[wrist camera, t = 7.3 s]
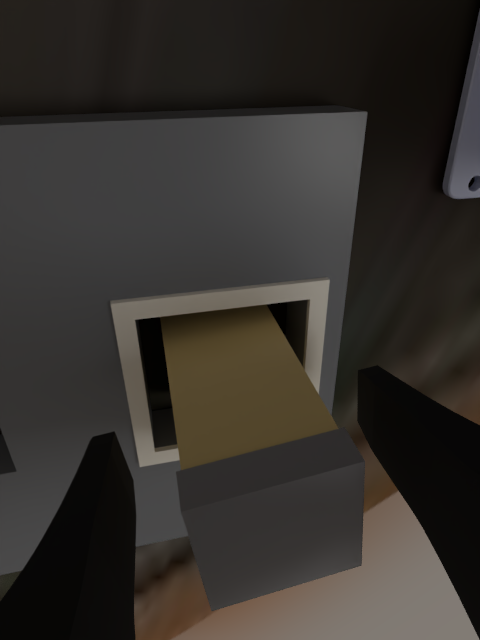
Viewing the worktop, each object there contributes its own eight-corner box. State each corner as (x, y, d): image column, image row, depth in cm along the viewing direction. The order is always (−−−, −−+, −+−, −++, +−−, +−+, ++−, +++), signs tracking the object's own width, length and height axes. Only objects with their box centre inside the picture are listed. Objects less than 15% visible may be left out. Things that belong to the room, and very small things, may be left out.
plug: (261, 287, 16) (364, 461, 9) (270, 371, 18) (361, 565, 11) (155, 310, 16) (180, 511, 9) (177, 393, 18) (211, 611, 11)
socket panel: (336, 105, 13) (371, 112, 12) (304, 473, 22) (321, 511, 20) (-404, 130, 10) (-522, 146, 8) (-115, 553, 18) (-142, 609, 16)
